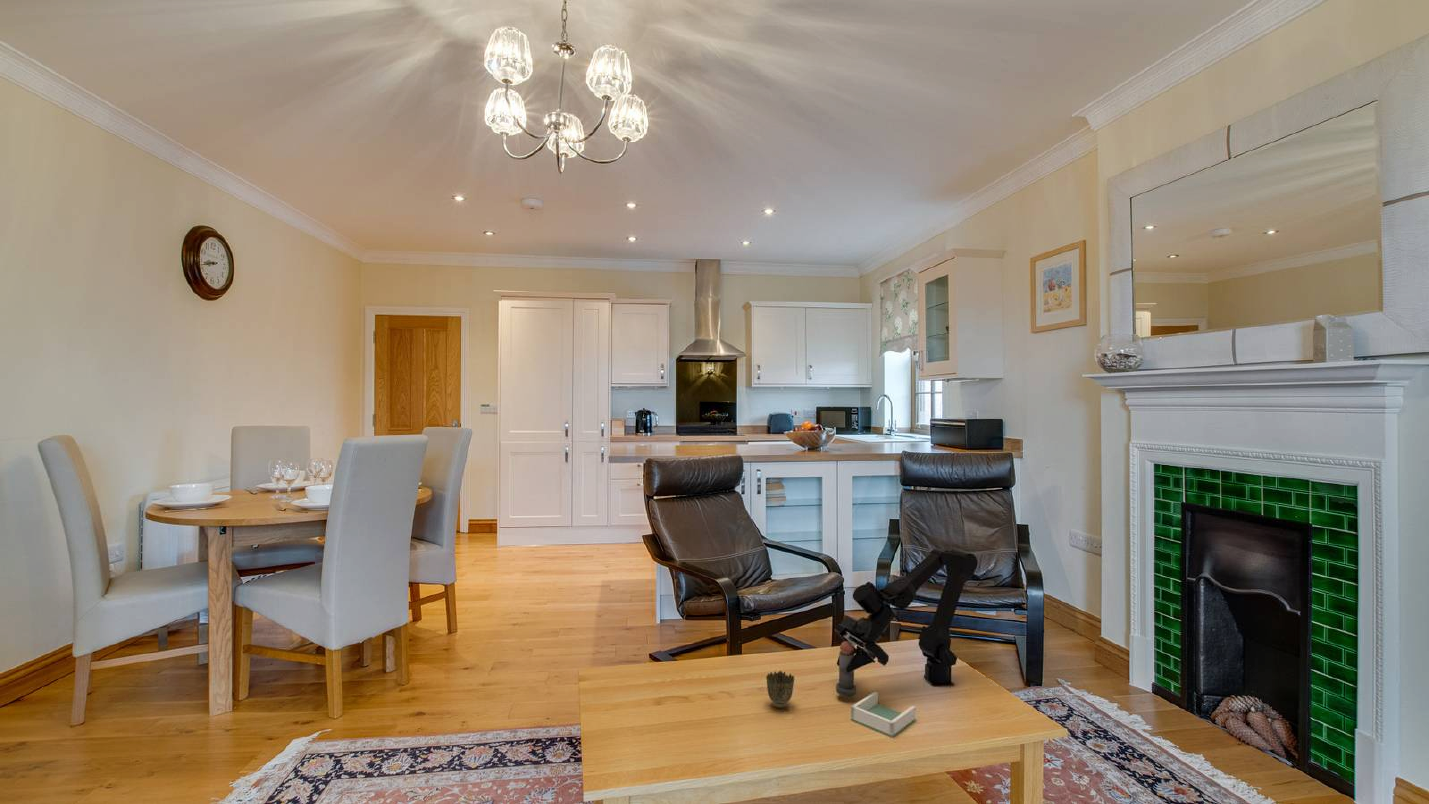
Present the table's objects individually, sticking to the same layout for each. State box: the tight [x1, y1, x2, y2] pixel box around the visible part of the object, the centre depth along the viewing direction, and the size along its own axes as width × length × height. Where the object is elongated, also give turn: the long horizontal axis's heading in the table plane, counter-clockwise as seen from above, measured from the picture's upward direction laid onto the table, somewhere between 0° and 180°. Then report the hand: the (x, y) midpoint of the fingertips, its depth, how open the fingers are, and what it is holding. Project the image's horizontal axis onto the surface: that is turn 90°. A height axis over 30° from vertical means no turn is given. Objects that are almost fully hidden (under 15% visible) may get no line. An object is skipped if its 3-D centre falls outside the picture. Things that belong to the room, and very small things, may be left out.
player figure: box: [835, 641, 858, 697], centre depth 172 cm, size 6×6×14 cm
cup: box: [765, 670, 795, 710], centre depth 167 cm, size 8×7×8 cm
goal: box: [850, 691, 917, 738], centre depth 160 cm, size 12×12×4 cm
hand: (842, 668), depth 171 cm, fingers closed on player figure, 4 cm apart
